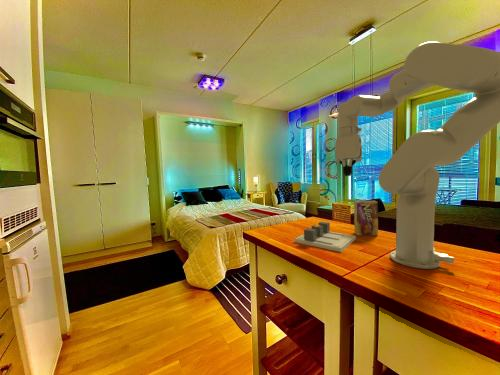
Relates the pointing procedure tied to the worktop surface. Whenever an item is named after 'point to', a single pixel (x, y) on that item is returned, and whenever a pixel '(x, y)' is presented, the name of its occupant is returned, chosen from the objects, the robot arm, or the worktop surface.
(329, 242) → the panel
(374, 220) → the candy box
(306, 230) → the block
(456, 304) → the worktop surface
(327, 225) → the block
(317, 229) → the block
